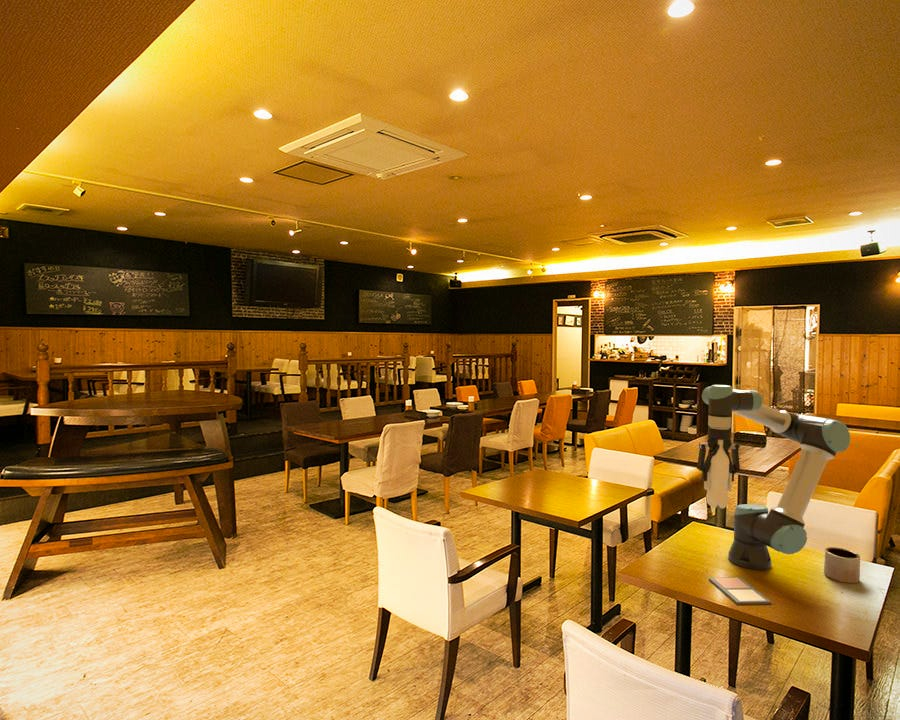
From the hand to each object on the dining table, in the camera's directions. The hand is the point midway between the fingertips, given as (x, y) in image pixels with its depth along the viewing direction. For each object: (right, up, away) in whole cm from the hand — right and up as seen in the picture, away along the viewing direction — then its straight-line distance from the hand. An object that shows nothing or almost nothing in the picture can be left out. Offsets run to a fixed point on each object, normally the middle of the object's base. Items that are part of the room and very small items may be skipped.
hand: (717, 489), depth 190 cm
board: (+6, -35, -4) cm, 36 cm away
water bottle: (0, -6, 0) cm, 6 cm away
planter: (+51, -35, +8) cm, 63 cm away
